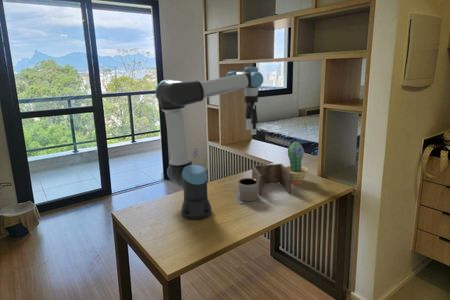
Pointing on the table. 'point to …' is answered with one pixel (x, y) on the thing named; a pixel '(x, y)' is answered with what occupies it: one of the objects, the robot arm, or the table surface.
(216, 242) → the table surface
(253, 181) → the planter
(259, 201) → the mat
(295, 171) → the potted cactus
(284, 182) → the wooden cubby shelf
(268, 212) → the table surface
